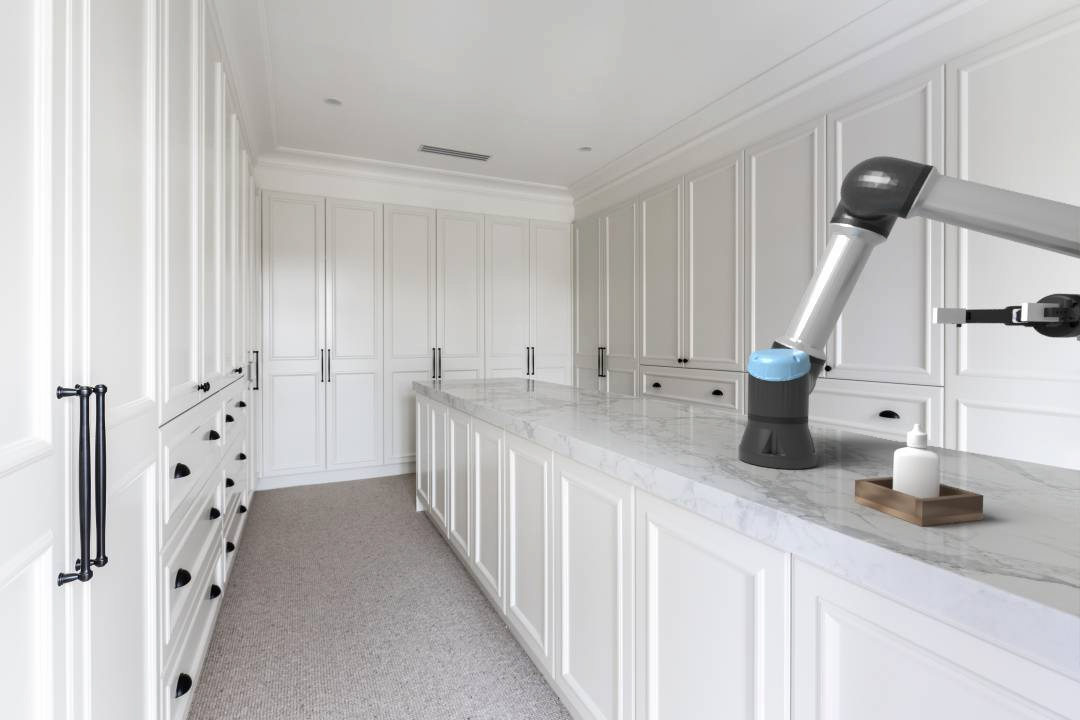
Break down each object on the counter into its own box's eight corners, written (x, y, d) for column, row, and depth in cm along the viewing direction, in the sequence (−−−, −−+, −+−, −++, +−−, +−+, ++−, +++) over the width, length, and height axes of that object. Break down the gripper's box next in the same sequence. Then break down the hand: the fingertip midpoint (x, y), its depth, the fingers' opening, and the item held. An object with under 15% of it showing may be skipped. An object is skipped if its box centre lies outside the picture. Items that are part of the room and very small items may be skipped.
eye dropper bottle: (903, 496, 81) (906, 420, 80) (944, 506, 75) (947, 425, 75) (886, 500, 79) (888, 422, 78) (927, 511, 74) (930, 428, 73)
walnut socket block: (854, 501, 81) (855, 479, 81) (909, 496, 84) (910, 475, 84) (921, 526, 70) (922, 501, 70) (982, 519, 73) (983, 495, 73)
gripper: (1172, 337, 77) (1070, 337, 72) (990, 337, 101) (904, 337, 96) (1175, 287, 76) (1072, 283, 71) (991, 299, 101) (905, 296, 96)
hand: (976, 313), depth 84 cm, fingers open, 13 cm apart
